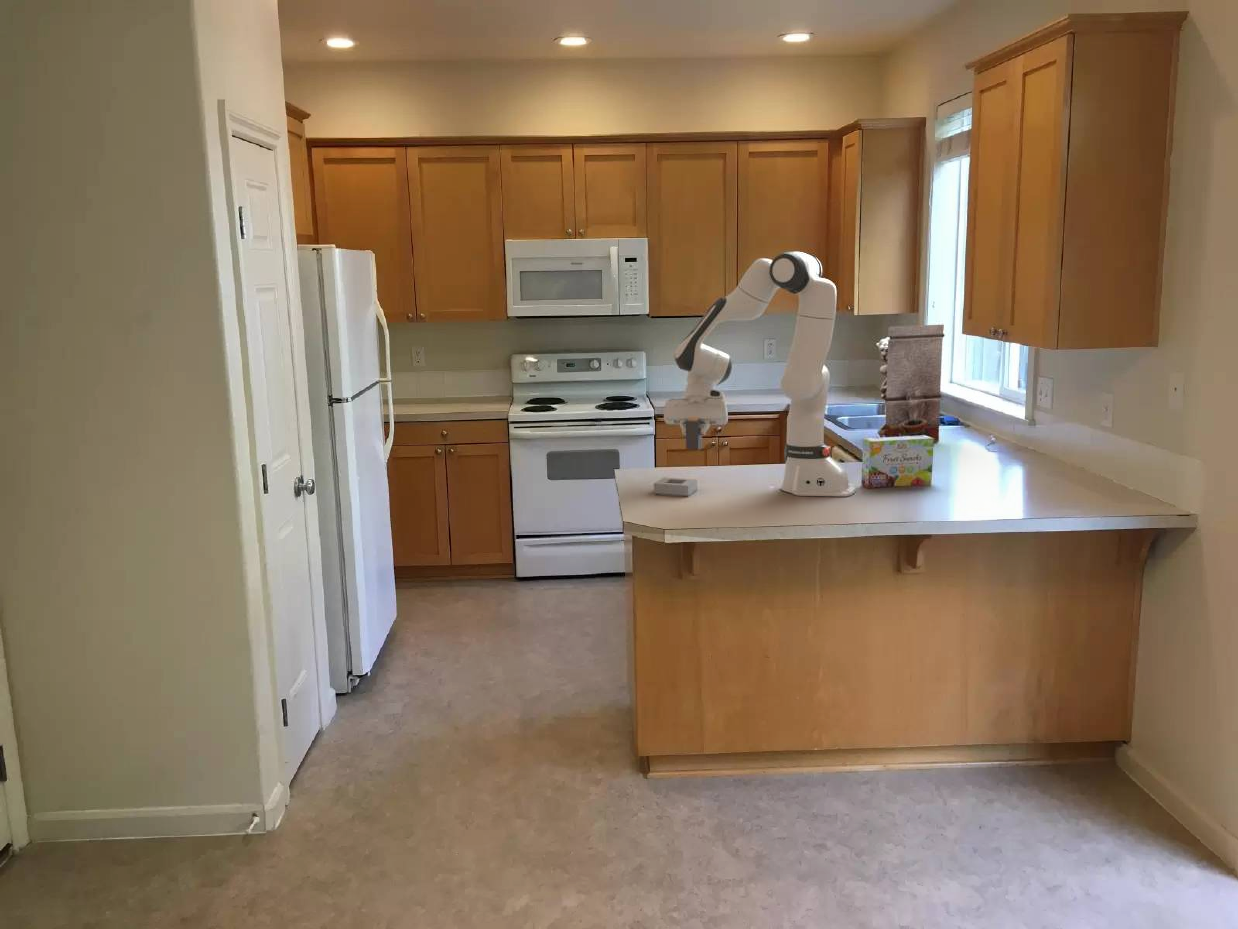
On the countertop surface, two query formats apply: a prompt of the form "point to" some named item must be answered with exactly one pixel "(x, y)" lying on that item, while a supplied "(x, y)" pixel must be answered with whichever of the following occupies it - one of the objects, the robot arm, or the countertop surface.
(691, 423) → the plug
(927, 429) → the cherub statue
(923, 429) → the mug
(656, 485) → the socket plate
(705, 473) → the countertop surface
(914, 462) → the snack box
